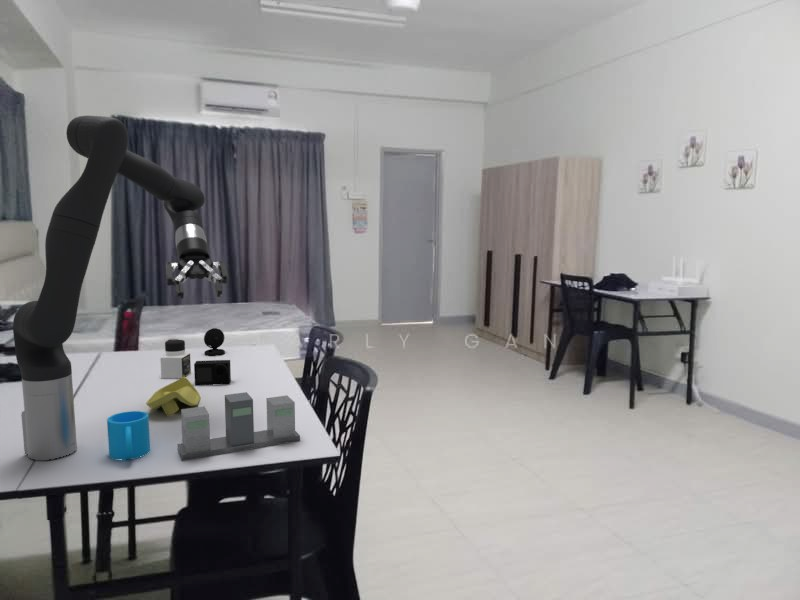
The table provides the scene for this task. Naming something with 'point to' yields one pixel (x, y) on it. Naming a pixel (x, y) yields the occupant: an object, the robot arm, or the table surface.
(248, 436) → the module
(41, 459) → the robot arm
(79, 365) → the table surface
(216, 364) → the digital camera
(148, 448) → the mug
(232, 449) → the rail
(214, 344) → the webcam
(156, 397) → the plastic component
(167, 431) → the table surface
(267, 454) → the table surface
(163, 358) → the medicine bottle
